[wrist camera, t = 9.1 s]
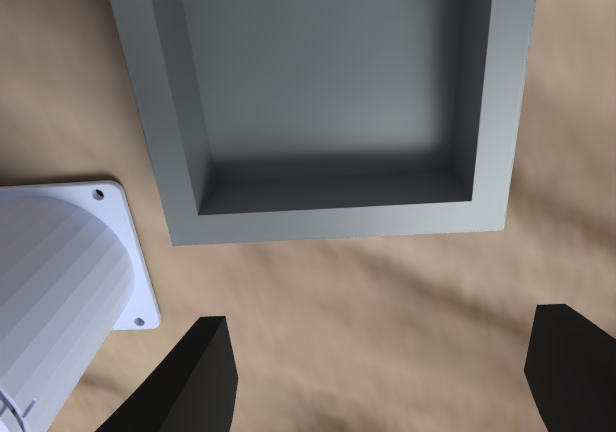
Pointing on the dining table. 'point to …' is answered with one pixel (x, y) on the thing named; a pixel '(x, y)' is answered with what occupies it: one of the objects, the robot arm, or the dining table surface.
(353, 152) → the case
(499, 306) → the dining table surface
